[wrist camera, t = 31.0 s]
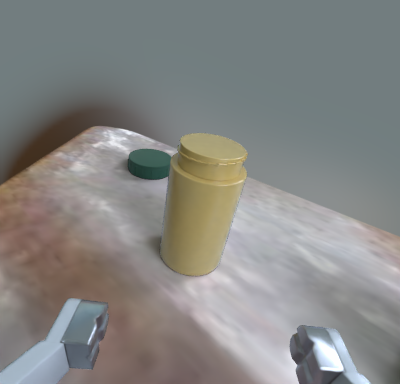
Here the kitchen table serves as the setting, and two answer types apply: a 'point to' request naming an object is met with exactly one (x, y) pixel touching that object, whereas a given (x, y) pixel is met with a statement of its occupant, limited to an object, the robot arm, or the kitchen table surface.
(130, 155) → the jar lid
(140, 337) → the kitchen table surface
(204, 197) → the jam jar
